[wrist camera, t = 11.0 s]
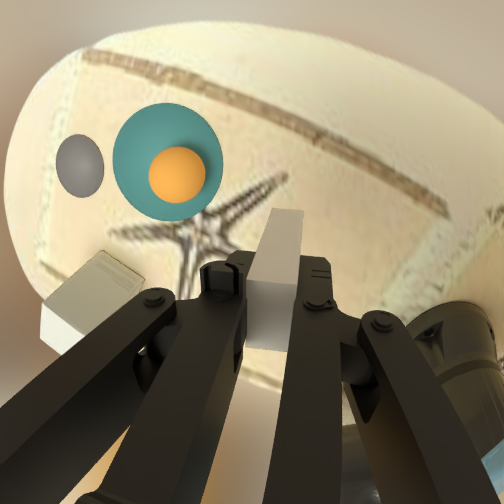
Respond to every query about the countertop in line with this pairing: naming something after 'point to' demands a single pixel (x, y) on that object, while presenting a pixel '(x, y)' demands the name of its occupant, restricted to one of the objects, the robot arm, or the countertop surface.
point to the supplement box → (86, 301)
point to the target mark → (155, 141)
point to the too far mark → (79, 166)
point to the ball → (176, 174)
